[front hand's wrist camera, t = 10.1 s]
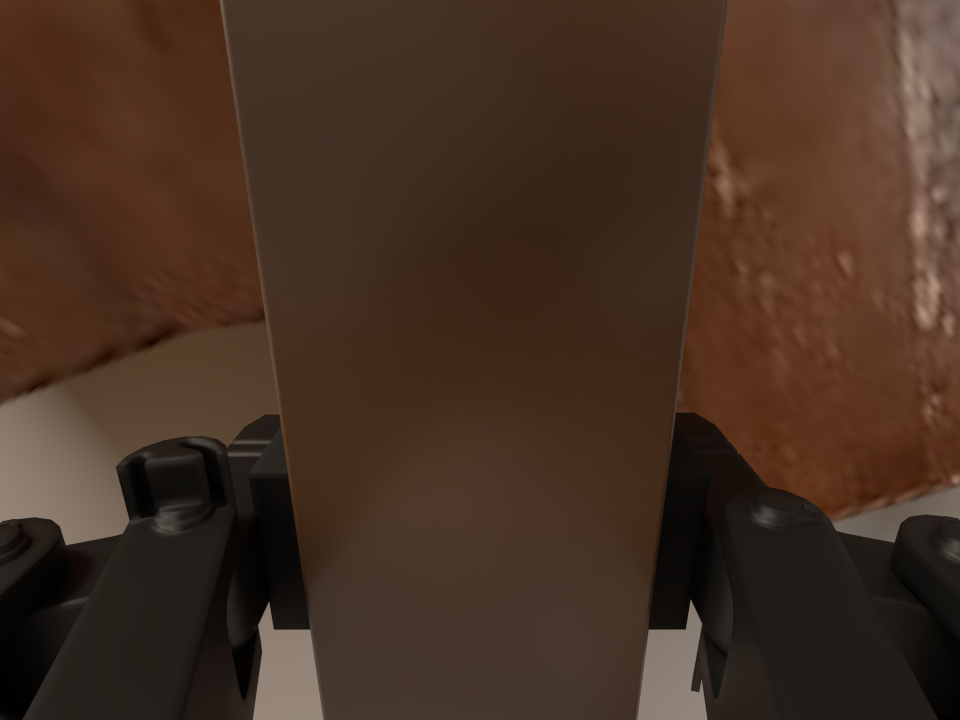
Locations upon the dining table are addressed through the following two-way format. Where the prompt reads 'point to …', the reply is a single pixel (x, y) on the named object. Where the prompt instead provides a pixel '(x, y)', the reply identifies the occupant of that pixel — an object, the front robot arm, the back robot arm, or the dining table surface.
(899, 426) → the dining table surface
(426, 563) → the bar
